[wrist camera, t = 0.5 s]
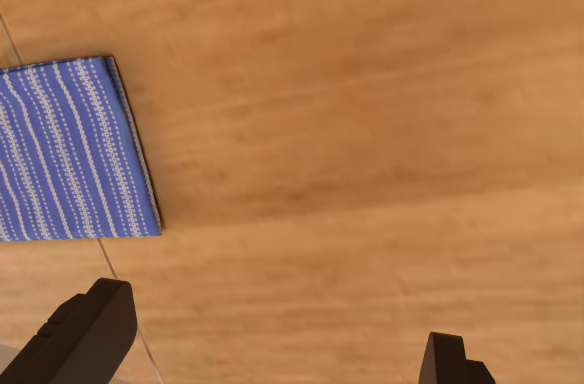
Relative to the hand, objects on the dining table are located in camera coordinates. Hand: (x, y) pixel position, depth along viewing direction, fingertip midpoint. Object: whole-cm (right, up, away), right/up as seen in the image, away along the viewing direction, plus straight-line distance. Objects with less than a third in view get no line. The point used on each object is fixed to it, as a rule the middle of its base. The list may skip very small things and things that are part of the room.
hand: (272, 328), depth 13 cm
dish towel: (-24, +7, +34) cm, 43 cm away
